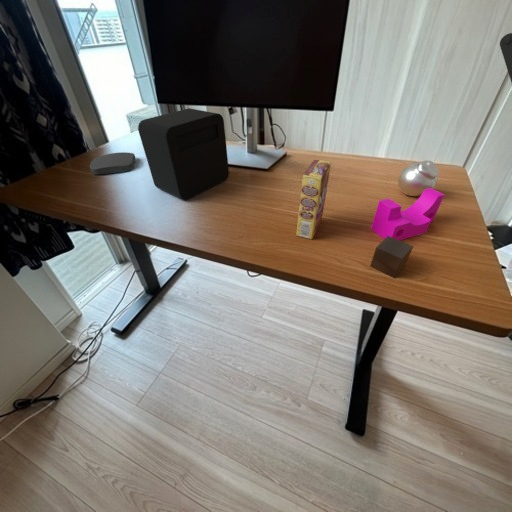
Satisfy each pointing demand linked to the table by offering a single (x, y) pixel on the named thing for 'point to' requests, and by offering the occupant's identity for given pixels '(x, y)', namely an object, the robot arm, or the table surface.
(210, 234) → the table surface
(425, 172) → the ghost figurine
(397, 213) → the magenta curved bracket
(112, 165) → the media streaming box
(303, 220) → the candy box
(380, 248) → the walnut cube
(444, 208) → the table surface
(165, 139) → the air purifier
